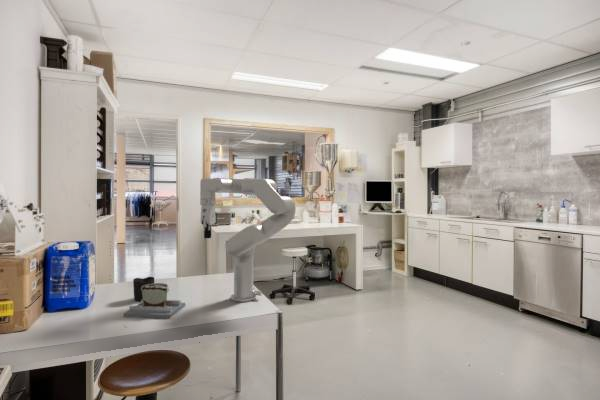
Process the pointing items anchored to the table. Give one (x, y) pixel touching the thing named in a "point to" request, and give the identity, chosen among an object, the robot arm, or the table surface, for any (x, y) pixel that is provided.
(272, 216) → the robot arm
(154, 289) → the food container
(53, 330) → the table surface
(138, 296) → the pen holder
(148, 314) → the rail plate
